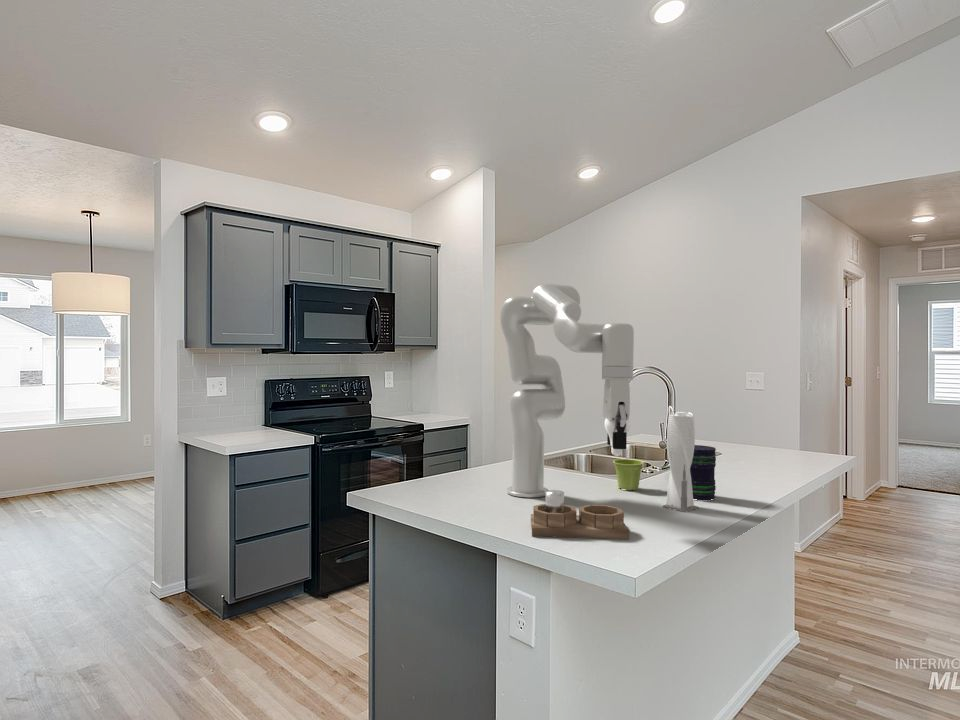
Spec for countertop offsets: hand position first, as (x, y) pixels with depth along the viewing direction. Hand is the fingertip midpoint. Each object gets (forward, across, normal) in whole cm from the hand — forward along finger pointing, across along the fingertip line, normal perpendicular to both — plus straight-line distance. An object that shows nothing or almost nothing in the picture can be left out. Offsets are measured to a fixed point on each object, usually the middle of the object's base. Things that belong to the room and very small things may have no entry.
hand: (616, 446), depth 145 cm
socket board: (+20, +5, -10) cm, 22 cm away
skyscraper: (+20, -20, +22) cm, 36 cm away
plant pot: (+20, -42, +13) cm, 49 cm away
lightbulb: (+3, 0, 0) cm, 3 cm away
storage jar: (+20, -33, +31) cm, 50 cm away
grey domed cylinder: (+18, +4, -16) cm, 24 cm away
